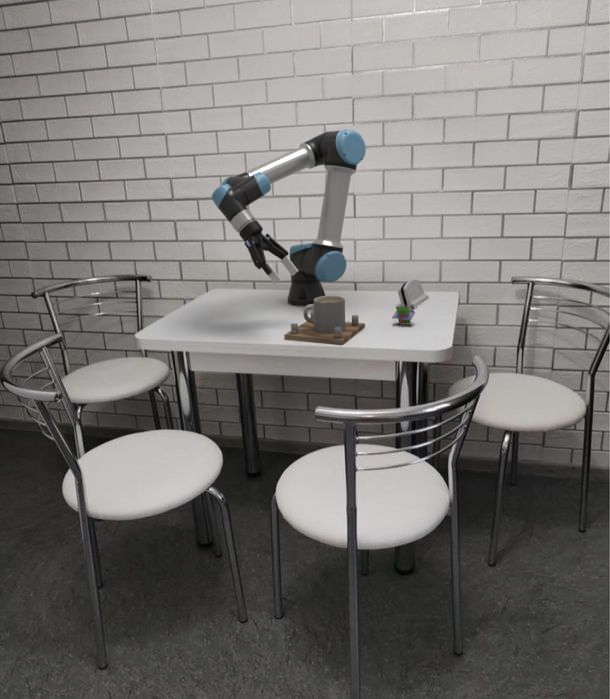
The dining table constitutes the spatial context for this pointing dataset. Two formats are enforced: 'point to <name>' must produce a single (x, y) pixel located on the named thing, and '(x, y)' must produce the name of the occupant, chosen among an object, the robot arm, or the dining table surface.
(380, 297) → the dining table surface
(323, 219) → the robot arm
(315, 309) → the coffee mug
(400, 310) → the geometric puzzle
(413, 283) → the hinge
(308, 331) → the standoff board
